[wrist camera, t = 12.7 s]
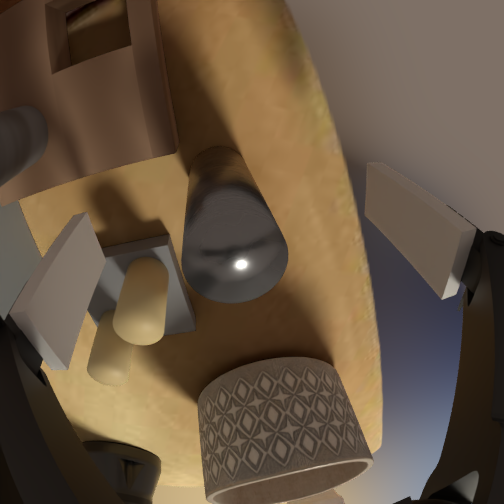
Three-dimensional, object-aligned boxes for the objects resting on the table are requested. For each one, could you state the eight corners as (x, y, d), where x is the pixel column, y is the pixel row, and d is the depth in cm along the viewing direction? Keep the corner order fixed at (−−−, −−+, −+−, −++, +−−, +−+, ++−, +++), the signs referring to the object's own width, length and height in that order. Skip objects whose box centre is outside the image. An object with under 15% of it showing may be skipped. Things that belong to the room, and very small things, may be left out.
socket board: (22, 189, 16) (-61, 270, 8) (-8, 38, 10) (-109, 45, 1) (179, 142, 17) (157, 206, 9) (153, -32, 10) (115, -116, 2)
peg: (195, 204, 19) (195, 310, 11) (184, 152, 17) (169, 225, 9) (250, 195, 20) (290, 292, 11) (243, 142, 18) (284, 203, 9)
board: (109, 330, 24) (96, 390, 18) (71, 255, 20) (39, 313, 14) (195, 317, 24) (198, 382, 19) (169, 234, 20) (160, 295, 15)
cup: (291, 466, 52) (306, 521, 41) (259, 461, 47) (273, 525, 35) (336, 447, 50) (355, 504, 38) (308, 441, 44) (329, 509, 32)
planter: (166, 387, 29) (168, 496, 19) (303, 322, 27) (351, 446, 16) (245, 431, 38) (260, 509, 27) (351, 386, 35) (384, 467, 25)
